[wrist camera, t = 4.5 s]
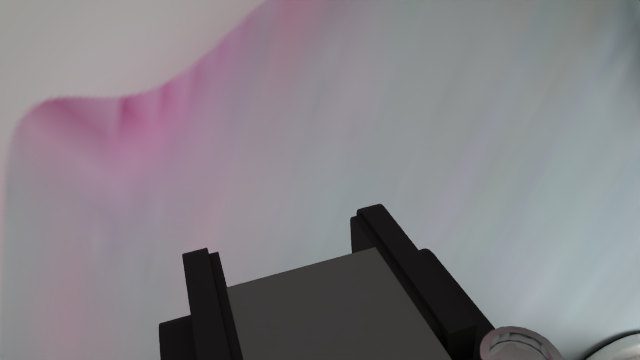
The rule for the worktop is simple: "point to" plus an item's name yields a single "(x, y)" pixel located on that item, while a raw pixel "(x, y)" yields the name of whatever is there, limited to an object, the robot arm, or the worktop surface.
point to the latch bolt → (332, 314)
